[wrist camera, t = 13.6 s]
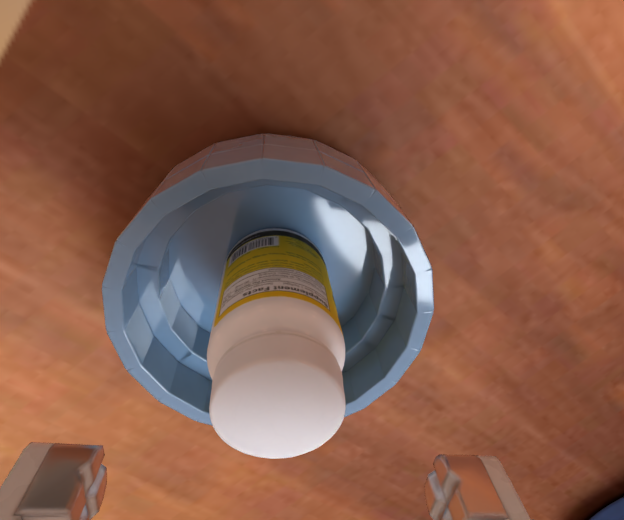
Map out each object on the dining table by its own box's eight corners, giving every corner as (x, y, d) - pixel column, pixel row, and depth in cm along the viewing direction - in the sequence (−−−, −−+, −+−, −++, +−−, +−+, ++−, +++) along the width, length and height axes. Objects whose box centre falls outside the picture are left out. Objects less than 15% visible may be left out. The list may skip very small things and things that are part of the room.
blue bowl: (130, 112, 16) (85, 136, 13) (432, 150, 18) (476, 183, 14) (143, 358, 22) (115, 429, 18) (373, 370, 24) (393, 437, 20)
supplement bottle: (301, 326, 21) (316, 482, 14) (209, 296, 20) (172, 451, 13) (343, 246, 19) (387, 377, 12) (245, 208, 18) (227, 329, 11)
